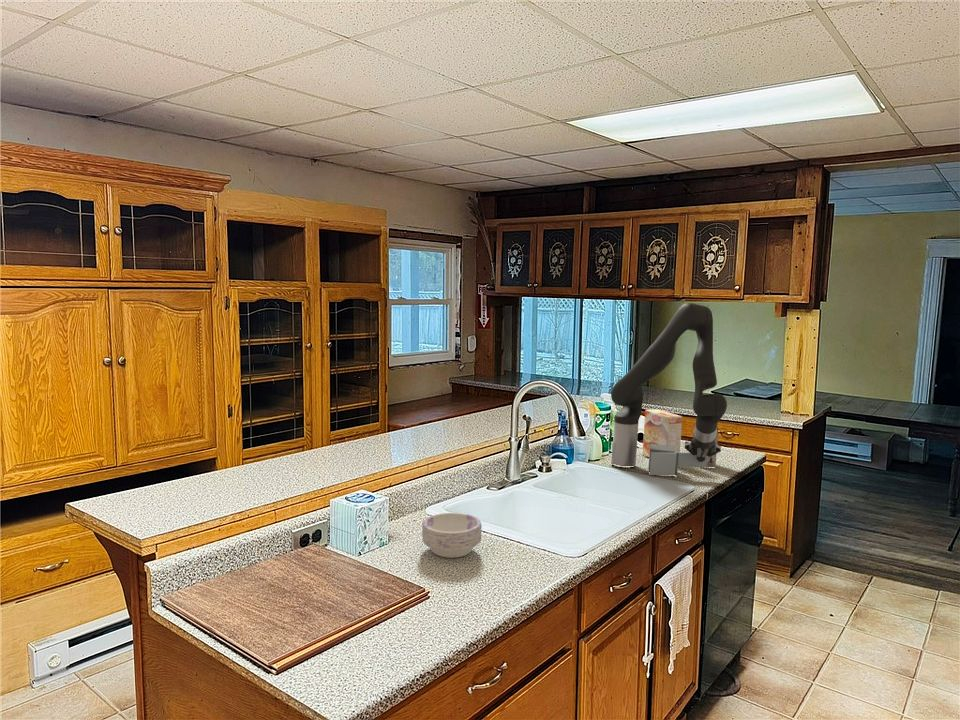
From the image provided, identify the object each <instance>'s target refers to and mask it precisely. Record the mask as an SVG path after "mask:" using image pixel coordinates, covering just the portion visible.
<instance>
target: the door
mask: <svg viewBox="0 0 960 720" xmlns="http://www.w3.org/2000/svg"><path fill="white" fill-rule="evenodd" d="M678 467H682V468H700V467H706V468H705V469H708V468H707V456H706V457H705V461H703V462H701V461H700V462H698V460H697V455H692V454H691V453H690V452H688V451H687V452H685V451H684V452H681V451H680V452H676V453H663V452H651V460H650V474H649V476H650V475H676V476H677V477H678Z"/></svg>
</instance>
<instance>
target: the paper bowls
mask: <svg viewBox="0 0 960 720" xmlns="http://www.w3.org/2000/svg"><path fill="white" fill-rule="evenodd" d="M421 524H422V532H421V533H422V534H421V536H422V542H423V544H424V545H426V547H428V548H430V550H431V552H432V554H433V553H434V554H435V555H437V556H439V557H442V558H447V559H452V558H453V559H455V558H461V557H465V556H467V555H469V554H471V552H472V550H473V549H474V547H476V546H478V545H479V544H480V543H481V540H482V526H483V525H482V522H481V519H479V518H478V517H476V516H474V515H471V514H468V513H461V512H443V513H442V512H441V513H438V514H433V515H429V516H427V517H426V518H425V519H424V520H423V521H422V523H421Z"/></svg>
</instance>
